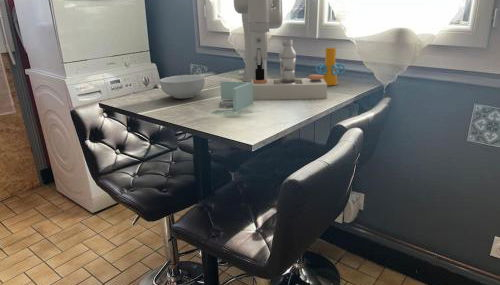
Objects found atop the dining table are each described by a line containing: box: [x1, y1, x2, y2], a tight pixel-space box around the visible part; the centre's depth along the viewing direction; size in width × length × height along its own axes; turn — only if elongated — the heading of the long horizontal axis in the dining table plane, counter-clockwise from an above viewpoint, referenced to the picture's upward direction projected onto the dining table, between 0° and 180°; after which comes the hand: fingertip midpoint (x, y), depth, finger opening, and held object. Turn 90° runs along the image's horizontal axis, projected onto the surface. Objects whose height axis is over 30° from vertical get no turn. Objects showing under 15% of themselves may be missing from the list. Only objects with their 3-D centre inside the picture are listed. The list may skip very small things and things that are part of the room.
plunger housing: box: [252, 77, 328, 101], centre depth 144 cm, size 27×14×5 cm, turn 87°
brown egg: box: [308, 74, 323, 82], centre depth 143 cm, size 5×5×6 cm
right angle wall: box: [214, 80, 254, 113], centre depth 129 cm, size 12×12×8 cm
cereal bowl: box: [159, 74, 206, 99], centre depth 148 cm, size 17×17×7 cm
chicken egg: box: [253, 79, 267, 84], centre depth 144 cm, size 5×5×6 cm
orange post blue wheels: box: [314, 47, 346, 87], centre depth 160 cm, size 12×10×15 cm
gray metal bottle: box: [278, 39, 297, 84], centre depth 142 cm, size 6×7×20 cm
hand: (260, 79), depth 143 cm, fingers closed
